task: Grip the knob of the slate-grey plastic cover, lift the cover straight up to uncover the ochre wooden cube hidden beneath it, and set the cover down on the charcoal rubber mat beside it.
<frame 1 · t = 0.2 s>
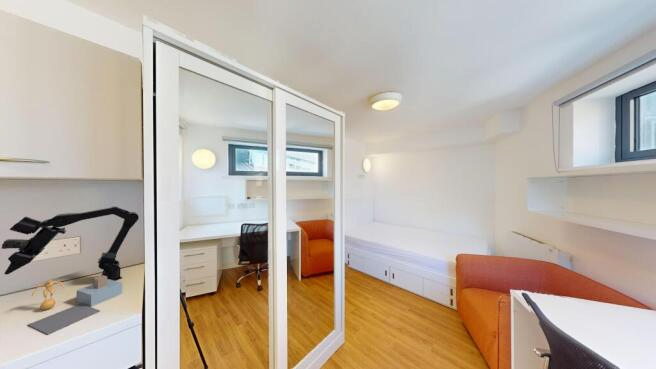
hand: (10, 270, 89), 15 cm above the table, tool tilted 30°, fingers open, 9 cm apart
cube: (100, 293, 96), in the cover
cover: (100, 297, 96), on the table
mat: (65, 317, 82), on the table
figurine: (48, 308, 87), on the table
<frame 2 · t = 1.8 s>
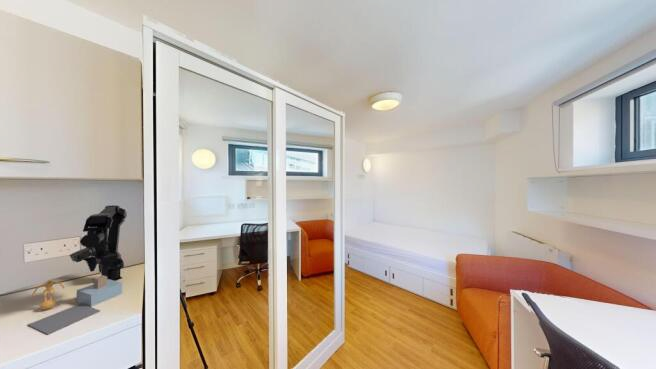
hand: (97, 272, 95), 12 cm above the table, tool pointing down, fingers open, 9 cm apart
nothing on the table moved.
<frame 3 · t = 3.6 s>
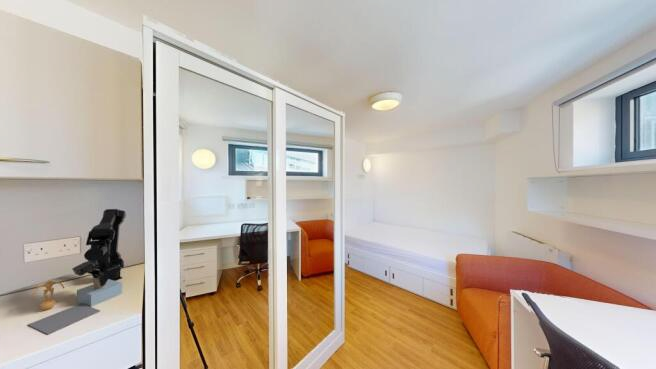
hand: (100, 284, 96), 6 cm above the table, tool pointing down, fingers closed on cover, 3 cm apart
cover: (100, 297, 96), on the table, touching gripper
everything else where it was.
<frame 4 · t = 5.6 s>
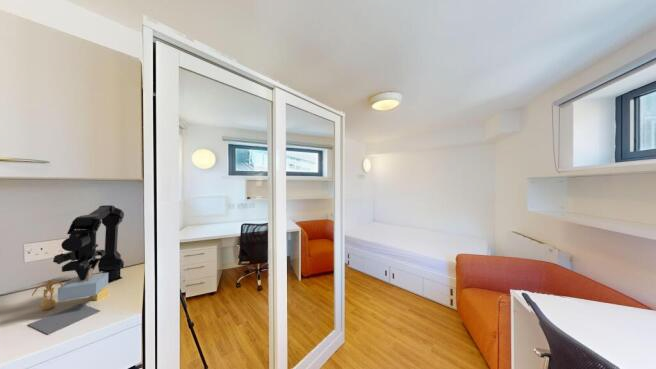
hand: (85, 278, 89), 13 cm above the table, tool pointing down, fingers closed on cover, 3 cm apart
cover: (84, 291, 89), point 7 cm above the table, touching gripper
everything else where it was.
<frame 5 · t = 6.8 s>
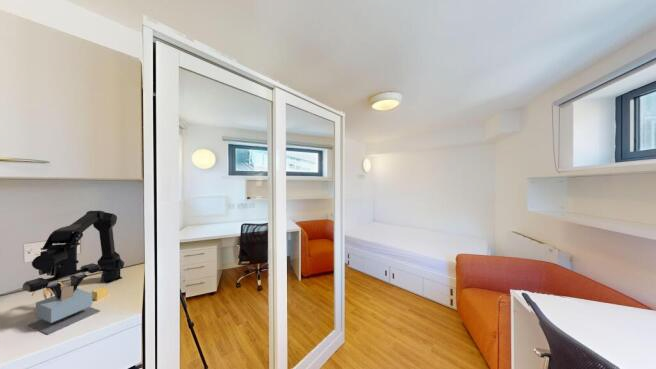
hand: (65, 296, 82), 9 cm above the table, tool pointing down, fingers closed on cover, 3 cm apart
cover: (65, 310, 82), point 3 cm above the table, touching gripper
everything else where it was.
when the fingers open (8 cm above the table, at t = 7.6 s): cover drops 1 cm, resting on mat.
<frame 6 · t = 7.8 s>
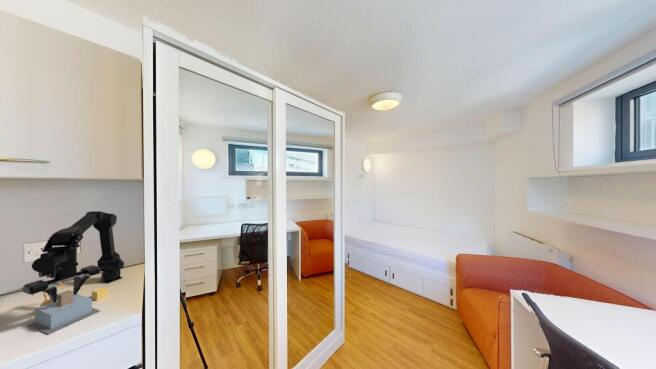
hand: (65, 298, 82), 8 cm above the table, tool pointing down, fingers open, 5 cm apart
cover: (64, 316, 82), resting on mat
everything else where it was.
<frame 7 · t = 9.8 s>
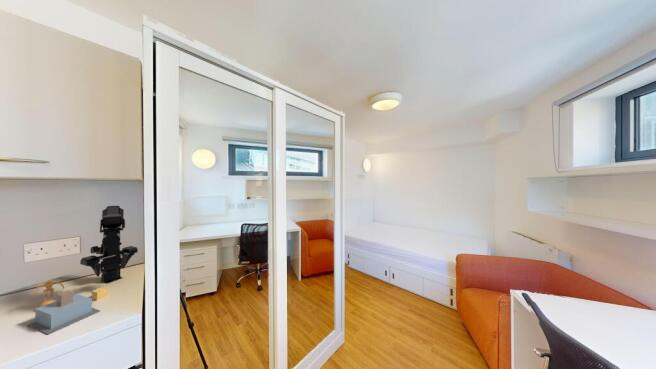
hand: (111, 272, 98), 12 cm above the table, tool pointing down, fingers open, 9 cm apart
nothing on the table moved.
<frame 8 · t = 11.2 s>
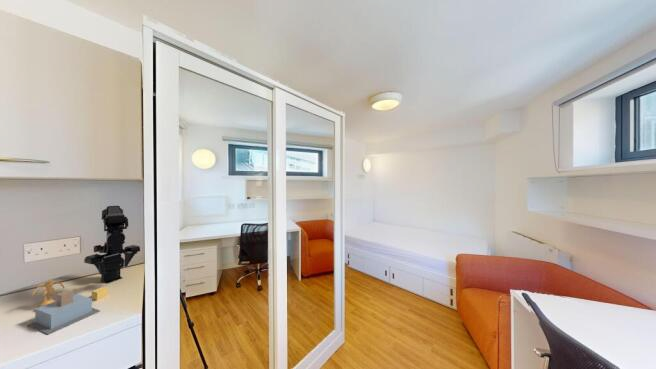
hand: (114, 270, 99), 12 cm above the table, tool pointing down, fingers open, 9 cm apart
nothing on the table moved.
at the end: cover inside the target area (0.1 cm from its centre), resting on mat; cover tilted 0°; the gripper is holding nothing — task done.
